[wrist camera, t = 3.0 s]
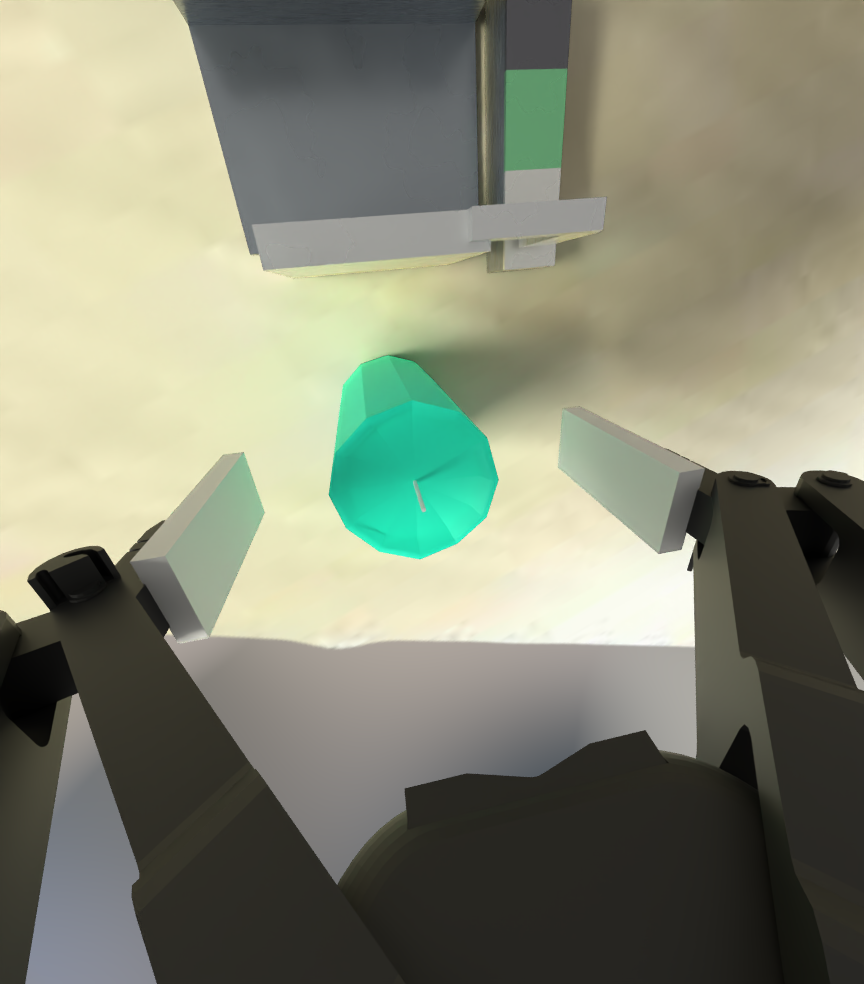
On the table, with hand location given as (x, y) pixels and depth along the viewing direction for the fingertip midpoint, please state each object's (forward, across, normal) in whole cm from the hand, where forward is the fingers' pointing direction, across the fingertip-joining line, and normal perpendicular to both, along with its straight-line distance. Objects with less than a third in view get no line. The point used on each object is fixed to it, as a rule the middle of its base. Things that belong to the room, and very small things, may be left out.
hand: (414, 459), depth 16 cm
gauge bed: (+8, +1, +11) cm, 14 cm away
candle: (+8, 0, 0) cm, 8 cm away
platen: (+7, +2, +8) cm, 11 cm away
